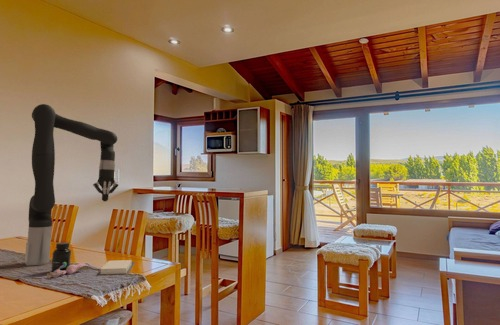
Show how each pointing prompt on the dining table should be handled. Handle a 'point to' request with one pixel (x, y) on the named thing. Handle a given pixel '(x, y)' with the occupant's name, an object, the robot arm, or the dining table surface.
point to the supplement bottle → (61, 256)
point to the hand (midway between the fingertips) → (104, 201)
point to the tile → (116, 267)
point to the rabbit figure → (69, 270)
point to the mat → (119, 274)
